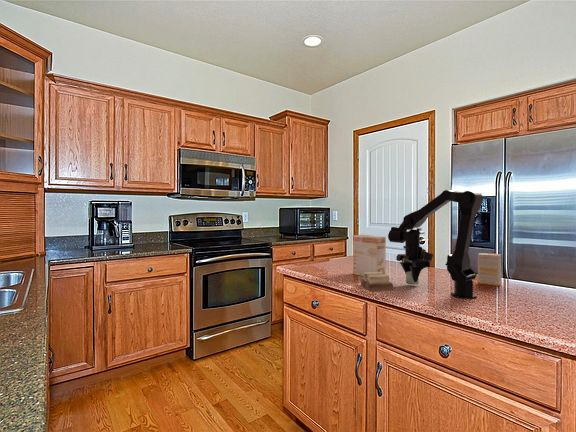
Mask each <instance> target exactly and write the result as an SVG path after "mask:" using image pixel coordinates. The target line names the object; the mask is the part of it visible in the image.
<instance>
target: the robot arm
mask: <svg viewBox="0 0 576 432" xmlns="http://www.w3.org/2000/svg"><path fill="white" fill-rule="evenodd" d="M450 202H454V203H458V207H459V210H460V220H459V224H458V231H457V236H456V241H455V246H454V251H453V253H452V254H447V256H446V262H445V266H446V271H447V272H448V273H449V274H450V278H451V280H452V281H454V283H453V284H454V287H453V290H454V291H453V292H450V295H451V296H454V297H456V298H459V299H477V298H478V297H477V296H476V295H474V281H473V280H475V279H476V277H478V273H476V271H474V269H472V267H471V258H470V255H469V250H470V246H471V239H472V235H473V231H474V230H473V229H474V226H475V225H474V224H475V219H476V216H477V214H478V212H479V211H480V209H481V208H482V207H481V206H482V204H483V202H484V196H483V194H482V193H481V192H479V191H477V190H465V191H457V190H456V191H455V190H452V189H445V190H443V191H442V192H441V193H440V194H438V195H437V196H435V198H433V199H431V200H430V201H429V202H428V203H427V204H424V205H423V206H422V207H421V208H420V209H418V210H415V211H412V212H410V213H408V214H406V215H405V216H403V218H402V222H401V223H400V225H399V226H398V227H397V226H391V227H390V230H389V232H388V234H387V238H388V241H389V242H390V243H398V244H404V243H405V245H403V249H404V251H405V252H404V253H399V254H397V255H396V257H395V258H396V259H395V260H396V261H397V262H399V264H400V265H401V268H402V270H403V271H404V273H405V275H406V272H409V271H411V274H412V277H413V280H414V282H417V280H418V277H419V276H420V274H421V272H422V271H423V269H425V268H426V269H427V268H431V262H432V261H433V257H434V254H433V253H431V252H428V251H426V249H424V248H423V247H422V246H421V245H420V244H421V242H420V241H421V239H420V238H421V235H423V234H424V235H425V232H426V231H424V230H423V229H422V228H421V226H422V225H423V224H424V223H425V222H426V221H427V219H428V218H429V217H430V216H431V215H433V214H434V213H436V212H437V211H439V210H440V209H441V208H443V207H444V206H445V205H447V204H448V203H450Z"/></svg>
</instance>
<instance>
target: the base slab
mask: <svg viewBox="0 0 576 432" xmlns="http://www.w3.org/2000/svg"><path fill="white" fill-rule="evenodd" d="M360 285H361V286H362V287H363V288H365V289H366V290H367V291H369V292H370V291H371V292H372V291H373V292H375V291H393V290H394V283H392V282H391V281H389V283H383V284H370V283H368V282H366V281H365V280H364V278H360Z"/></svg>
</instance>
